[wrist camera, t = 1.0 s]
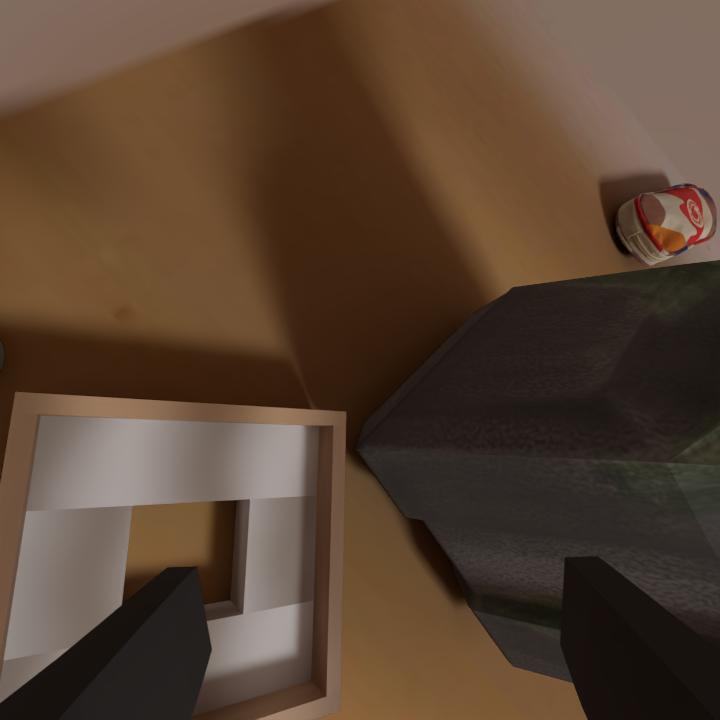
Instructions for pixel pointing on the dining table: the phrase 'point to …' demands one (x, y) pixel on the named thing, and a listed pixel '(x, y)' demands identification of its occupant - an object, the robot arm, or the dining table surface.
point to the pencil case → (666, 222)
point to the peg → (1, 355)
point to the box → (179, 485)
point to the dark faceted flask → (568, 449)
